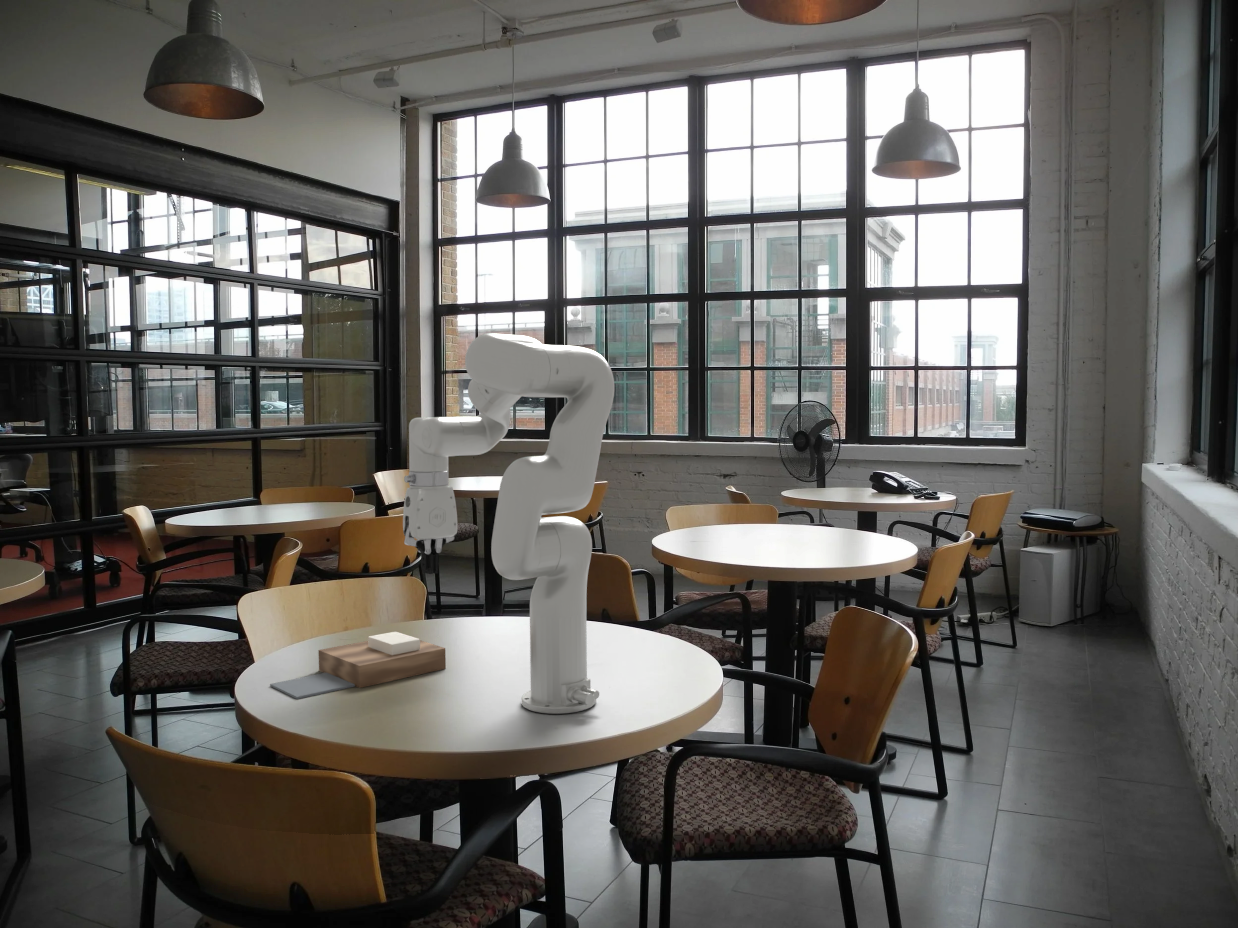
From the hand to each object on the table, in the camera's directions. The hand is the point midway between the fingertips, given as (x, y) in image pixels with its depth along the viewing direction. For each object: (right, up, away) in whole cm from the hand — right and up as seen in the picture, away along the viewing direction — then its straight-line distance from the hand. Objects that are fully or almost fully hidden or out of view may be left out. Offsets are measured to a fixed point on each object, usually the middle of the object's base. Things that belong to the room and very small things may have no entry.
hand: (430, 572), depth 186 cm
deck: (-8, -18, -6) cm, 20 cm away
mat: (-18, -19, -17) cm, 31 cm away
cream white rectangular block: (-6, -14, -5) cm, 16 cm away
